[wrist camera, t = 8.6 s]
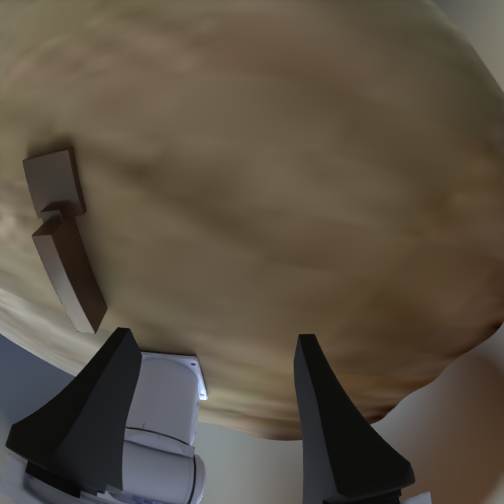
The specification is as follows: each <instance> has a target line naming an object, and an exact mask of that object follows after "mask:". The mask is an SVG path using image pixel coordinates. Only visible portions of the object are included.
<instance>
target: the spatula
mask: <svg viewBox="0 0 504 504" xmlns="http://www.w3.org/2000/svg"><path fill="white" fill-rule="evenodd" d="M22 162H23V166H24V171H25V175H26V179H27V183H28V186H29V190H30V194H31V197H32V201H33V204H34V207H35V211H36V214H37V217H38V219H39V218H42V221H43V225H42V226H41V227H40V228H39V229H38V230H37V231H36V232H35V233H34V234H33V235H32V238H33V241H34V243H35V246H36V248H37V251H38V253H39V256H40V258H41V261H42V263H43V265H44V268H45V270H46V272H47V274H48V276H49V279H50V281H51V283H52V285H53V287H54V289H55V291H56V293H57V295H58V297H59V299H60V301H61V303H62V305H63V307H64V309H65V311H66V312H67V314H68V316H69V318H70V320H71V322H72V323H73V325H74V327H75V329H76V330H77V331H80V332H87V333H93V334H96V332H97V330H98V328H99V326H100V323H101V321H102V319H103V317H104V315H105V313H106V311H107V307H106V304H105V302H104V300H103V297H102V295H101V292H100V290H99V288H98V285H97V283H96V280H95V278H94V275H93V272H92V270H91V267H90V264H89V262H88V259H87V256H86V253H85V250H84V247H83V245H82V242H81V238H80V235H79V232H78V229H77V226H76V223H75V219H74V216H76V215H84V214H85V213H86V207H85V203H84V199H83V195H82V191H81V187H80V182H79V178H78V173H77V168H76V163H75V158H74V153H73V148H72V147H71V148H66V149H62V150H57V151H53V152H49V153H45V154H41V155H37V156H33V157H30V158H26V159H25V160H23V161H22Z"/></svg>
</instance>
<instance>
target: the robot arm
mask: <svg viewBox="0 0 504 504" xmlns="http://www.w3.org/2000/svg"><path fill="white" fill-rule="evenodd" d="M294 381H295V389H296V395H297V402H298V408H299V414H300V421H301V427H302V438H303V504H432V502H431V496H430V492H429V491H427V492H425V493H422V494H419V495H417V496H414V497H411V498H408V499H405V500H401V501H399V497H400V496H401V489H402V488H405V487H407V486H410V485H412V484H414V483H415V476H414V472H413V469H412V467H411V464H410V462H409V461H407V460H406V459H405V458H404V457H403V456H401V455H400V454H399V453H398V452H397V451H395V450H394V449H393V448H392V447H391V446H390V445H389V444H388V443H387V442H386V441H385V440H384V439H383V438H382V437H381V436H380V435H379V434H378V433H377V432H376V431H375V430H374V429H373V428H372V427H371V425H370V424H369V423H368V422H367V421H366V420H365V418H364V417H363V416H362V415H361V413H360V412H359V411H358V410H357V408H356V407H355V406H354V404H353V403H352V401H351V400H350V398H349V397H348V396H347V394H346V392H345V391H344V389H343V388H342V386H341V385H340V383H339V381H338V380H337V378H336V376H335V374H334V373H333V371H332V369H331V367H330V366H329V364H328V362H327V360H326V358H325V356H324V354H323V352H322V350H321V347H320V345H319V343H318V340H317V338H316V336H315V335H314V334H299V336H298V342H297V347H296V352H295V357H294ZM200 399H202V400H206V399H208V395H207V391H206V388H205V384H204V381H203V377H202V374H201V370H200V366H199V362H198V359H197V358H196V357H194V356H182V355H170V354H159V353H149V352H140V350H139V347H138V345H137V343H136V341H135V339H134V337H133V334H132V332H131V330H130V328H120V327H118V328H117V329H116V330H115V331H114V332H113V334H112V335H111V336H110V337H109V339H108V340H107V341H106V342H105V343H104V345H103V346H102V347H101V348H100V350H99V351H98V352H97V353H96V354H95V356H94V357H93V358H92V359H91V360H90V362H89V363H88V364H87V365H86V366H85V367H84V368H83V370H82V371H81V372H80V373H79V374H78V375H77V376H76V377H75V378H74V380H73V381H71V382H70V383H69V384H68V385H67V386H66V387H65V388H64V389H63V390H62V391H61V392H60V393H59V394H58V395H57V396H55V397H54V398H53V399H52V400H50V401H49V402H48V403H47V404H46V405H44V406H43V407H41V408H40V409H39V410H37V411H36V412H34V413H33V414H31V415H29V416H28V417H26V418H24V419H23V420H21V421H19V422H17V423H15V424H13V425H12V427H11V430H10V433H9V436H8V439H7V442H6V447H7V448H9V449H10V450H12V451H13V452H15V453H17V454H18V455H20V456H21V457H23V458H25V459H27V460H28V463H27V464H26V463H24V462H22V461H21V460H19V459H17V458H16V457H14V456H12V455H11V454H9V453H8V454H7V456H6V459H5V463H4V466H3V471H2V474H1V478H0V492H1V493H3V494H4V495H5V496H7V497H8V498H9V499H11V500H12V501H13V502H15V503H16V504H199V502H200V501H201V498H202V496H203V492H204V487H205V476H206V475H205V465H204V463H203V461H202V460H201V458H200V456H198V455H196V454H194V449H195V447H193V446H191V445H192V443H193V441H194V439H195V434H196V425H197V417H198V409H199V401H200Z"/></svg>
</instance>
